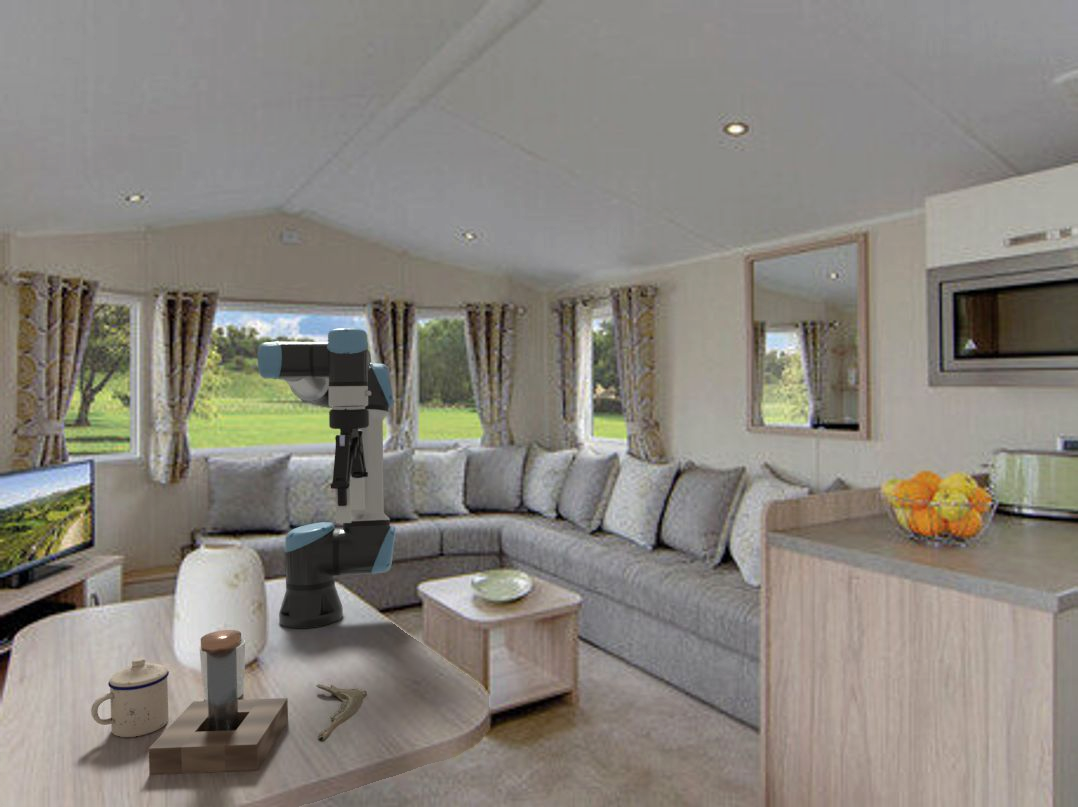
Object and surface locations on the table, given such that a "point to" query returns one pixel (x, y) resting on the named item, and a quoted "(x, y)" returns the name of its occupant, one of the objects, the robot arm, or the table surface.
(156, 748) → the socket block
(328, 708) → the table surface
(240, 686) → the white cup
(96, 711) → the teacup with lid
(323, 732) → the jawbone
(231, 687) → the metal pin
